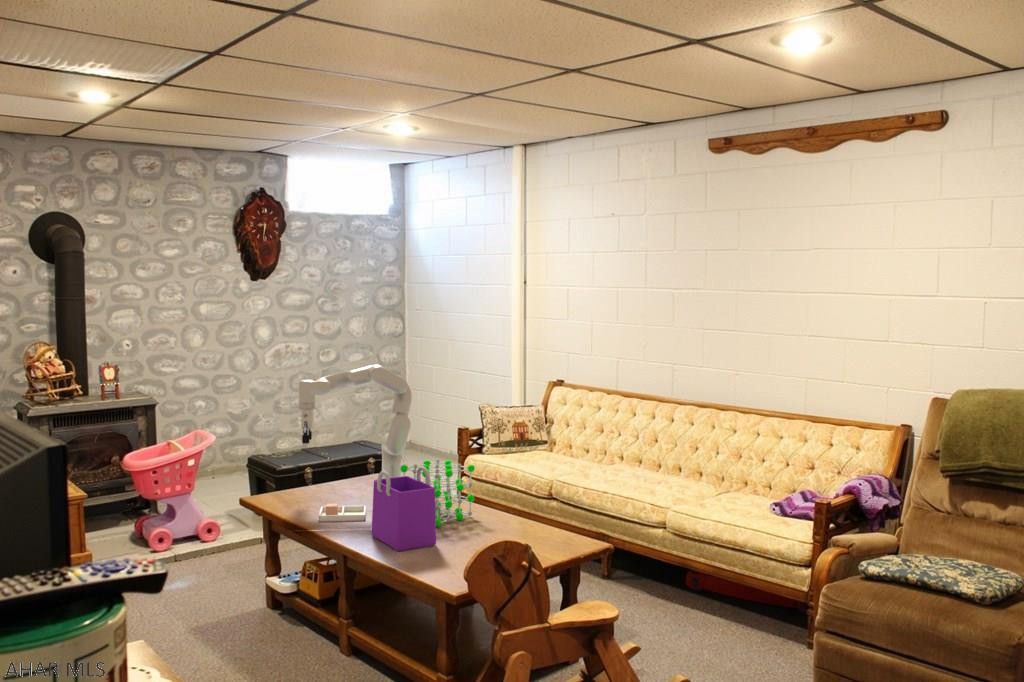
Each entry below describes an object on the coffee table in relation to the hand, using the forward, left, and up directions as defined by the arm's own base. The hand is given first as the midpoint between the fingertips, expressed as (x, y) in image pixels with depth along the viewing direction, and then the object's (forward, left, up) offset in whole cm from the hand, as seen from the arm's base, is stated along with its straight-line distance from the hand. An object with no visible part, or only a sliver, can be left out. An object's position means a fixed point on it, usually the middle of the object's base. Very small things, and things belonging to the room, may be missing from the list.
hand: (306, 441), depth 412 cm
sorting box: (-18, +30, -29) cm, 45 cm away
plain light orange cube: (-13, +30, -28) cm, 43 cm away
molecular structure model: (-60, +34, -29) cm, 75 cm away
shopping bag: (-44, +68, -29) cm, 86 cm away
